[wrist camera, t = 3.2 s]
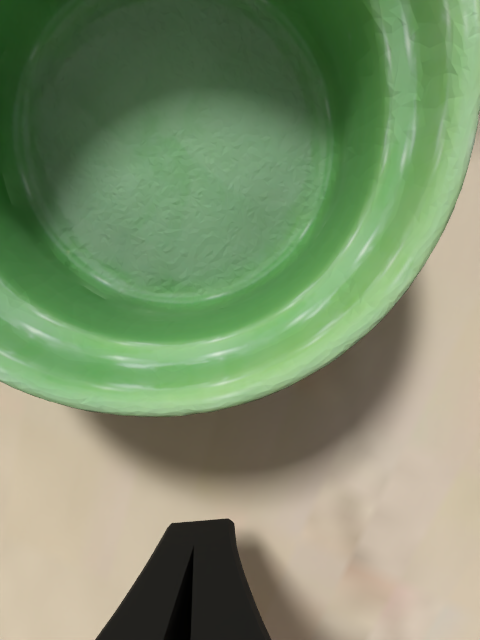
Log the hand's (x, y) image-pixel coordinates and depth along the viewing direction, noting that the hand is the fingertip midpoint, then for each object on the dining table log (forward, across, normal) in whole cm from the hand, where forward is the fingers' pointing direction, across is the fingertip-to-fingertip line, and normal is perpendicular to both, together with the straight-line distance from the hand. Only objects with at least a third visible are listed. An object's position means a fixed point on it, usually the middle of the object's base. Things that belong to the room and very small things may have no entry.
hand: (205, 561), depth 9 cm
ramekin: (+3, 0, -9) cm, 9 cm away
